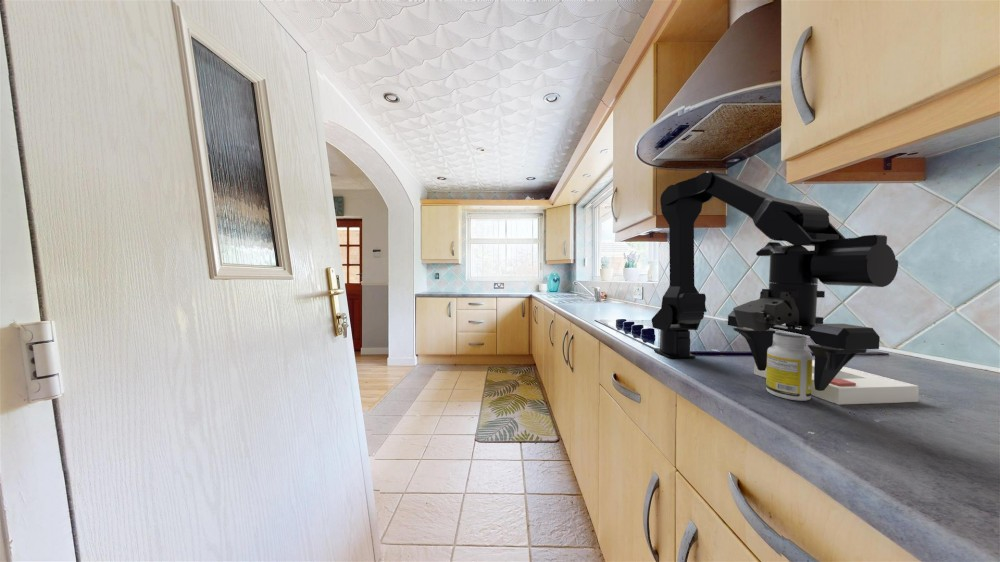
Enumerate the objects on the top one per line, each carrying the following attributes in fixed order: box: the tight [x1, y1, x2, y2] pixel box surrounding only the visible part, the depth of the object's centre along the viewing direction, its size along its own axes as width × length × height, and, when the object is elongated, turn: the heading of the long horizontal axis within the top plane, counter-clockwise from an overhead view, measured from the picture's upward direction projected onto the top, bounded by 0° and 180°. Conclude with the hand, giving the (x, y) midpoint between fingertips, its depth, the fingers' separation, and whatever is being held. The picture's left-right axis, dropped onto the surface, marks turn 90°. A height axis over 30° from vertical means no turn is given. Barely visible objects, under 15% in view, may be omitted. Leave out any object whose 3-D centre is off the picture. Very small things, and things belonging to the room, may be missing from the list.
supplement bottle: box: [765, 332, 813, 402], centre depth 51 cm, size 5×5×10 cm
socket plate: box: [753, 359, 920, 406], centre depth 55 cm, size 14×14×3 cm
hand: (787, 379), depth 51 cm, fingers open, 9 cm apart
